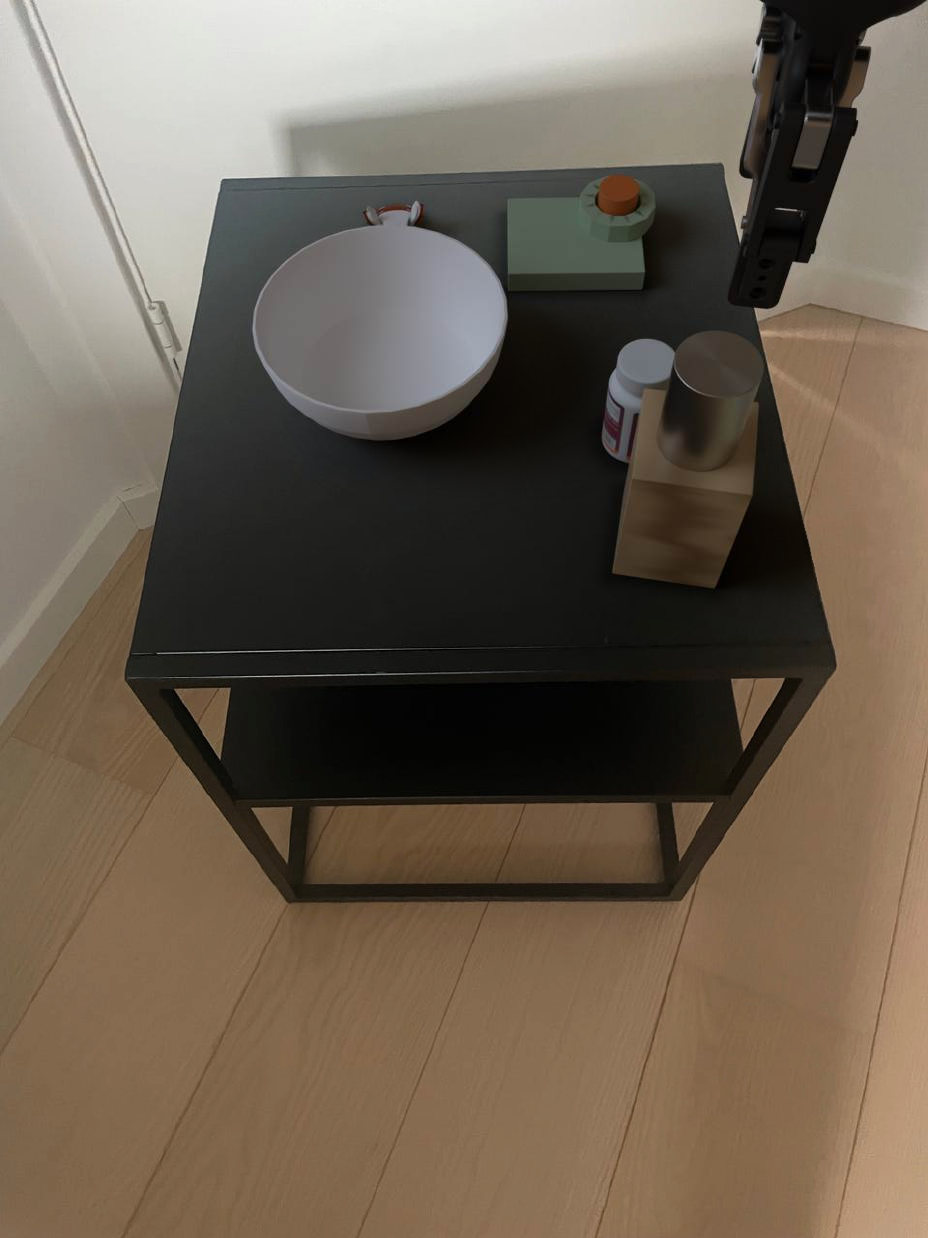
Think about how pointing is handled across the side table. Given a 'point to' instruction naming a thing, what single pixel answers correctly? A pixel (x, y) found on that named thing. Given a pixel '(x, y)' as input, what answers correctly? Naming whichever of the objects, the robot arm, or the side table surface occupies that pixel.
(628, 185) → the button
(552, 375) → the side table surface
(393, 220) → the toy car
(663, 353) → the pill bottle
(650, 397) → the block
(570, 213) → the green board with knob
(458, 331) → the bowl
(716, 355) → the spice tin
